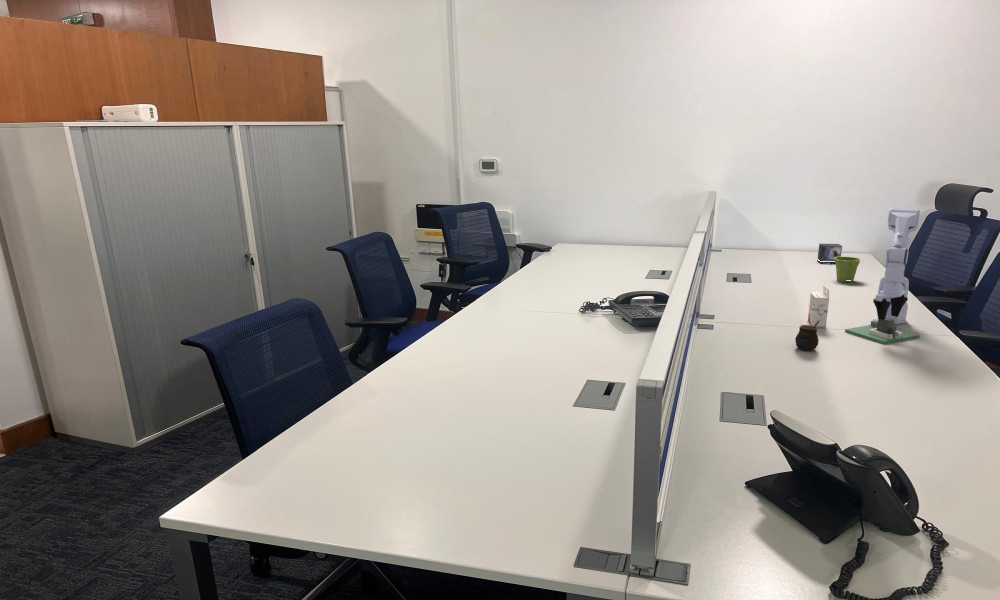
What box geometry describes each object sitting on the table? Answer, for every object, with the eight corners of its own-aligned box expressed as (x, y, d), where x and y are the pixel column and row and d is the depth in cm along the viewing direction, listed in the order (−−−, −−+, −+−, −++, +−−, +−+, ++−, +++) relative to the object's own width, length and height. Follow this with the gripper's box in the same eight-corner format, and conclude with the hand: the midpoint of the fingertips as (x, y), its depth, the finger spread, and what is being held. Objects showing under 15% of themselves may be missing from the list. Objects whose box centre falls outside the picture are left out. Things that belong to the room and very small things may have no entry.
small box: (820, 263, 359) (822, 245, 357) (816, 261, 366) (818, 243, 363) (840, 264, 358) (842, 245, 355) (836, 261, 364) (838, 243, 361)
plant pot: (859, 279, 321) (862, 257, 318) (857, 284, 312) (860, 261, 309) (832, 277, 328) (835, 255, 325) (830, 281, 318) (832, 259, 315)
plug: (881, 332, 237) (883, 316, 235) (896, 336, 232) (898, 320, 230) (876, 333, 235) (878, 317, 234) (891, 337, 230) (893, 321, 229)
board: (878, 325, 248) (880, 317, 247) (919, 337, 233) (920, 328, 233) (844, 331, 241) (845, 323, 240) (884, 344, 227) (885, 335, 226)
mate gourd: (789, 347, 225) (792, 319, 223) (805, 344, 228) (808, 317, 226) (806, 353, 219) (809, 325, 216) (822, 350, 222) (826, 322, 219)
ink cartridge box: (806, 320, 256) (810, 284, 252) (820, 321, 255) (824, 284, 251) (812, 326, 248) (816, 289, 244) (826, 327, 247) (830, 290, 243)
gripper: (894, 276, 235) (889, 312, 239) (869, 281, 229) (864, 317, 232) (914, 280, 229) (908, 316, 232) (888, 285, 223) (883, 322, 226)
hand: (888, 317), depth 232 cm, fingers open, 7 cm apart
